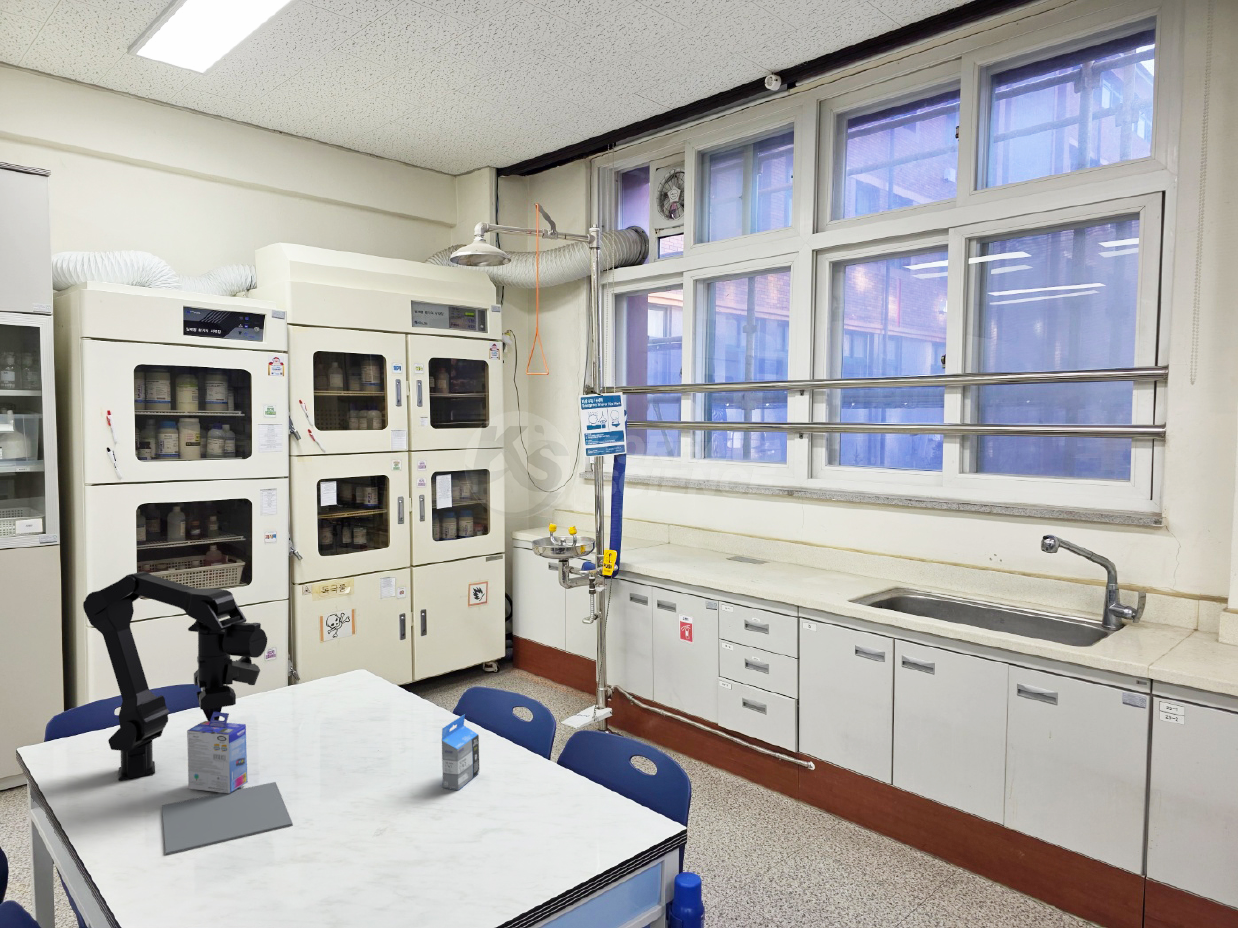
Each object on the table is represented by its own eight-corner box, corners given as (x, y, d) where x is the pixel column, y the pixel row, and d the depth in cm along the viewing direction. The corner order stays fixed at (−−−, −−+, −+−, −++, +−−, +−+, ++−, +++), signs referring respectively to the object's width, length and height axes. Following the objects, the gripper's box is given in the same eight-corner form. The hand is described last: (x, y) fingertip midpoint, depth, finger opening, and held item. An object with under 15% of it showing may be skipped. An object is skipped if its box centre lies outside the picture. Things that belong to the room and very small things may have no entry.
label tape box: (458, 790, 158) (458, 730, 158) (440, 787, 159) (441, 727, 159) (480, 773, 166) (480, 715, 166) (463, 770, 168) (463, 713, 167)
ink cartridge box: (249, 781, 160) (247, 712, 159) (231, 794, 154) (228, 723, 153) (207, 776, 162) (204, 708, 161) (187, 789, 156) (184, 719, 155)
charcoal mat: (162, 806, 150) (162, 804, 150) (275, 783, 160) (275, 781, 160) (165, 854, 133) (165, 852, 133) (292, 825, 143) (292, 823, 143)
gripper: (263, 660, 157) (263, 736, 158) (250, 636, 173) (250, 705, 174) (200, 668, 151) (200, 747, 152) (193, 642, 167) (193, 714, 168)
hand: (214, 727), depth 162 cm, fingers closed
